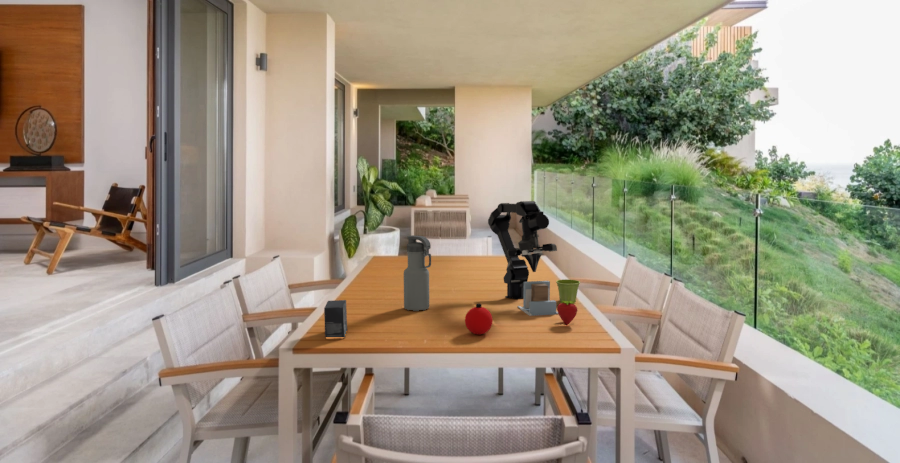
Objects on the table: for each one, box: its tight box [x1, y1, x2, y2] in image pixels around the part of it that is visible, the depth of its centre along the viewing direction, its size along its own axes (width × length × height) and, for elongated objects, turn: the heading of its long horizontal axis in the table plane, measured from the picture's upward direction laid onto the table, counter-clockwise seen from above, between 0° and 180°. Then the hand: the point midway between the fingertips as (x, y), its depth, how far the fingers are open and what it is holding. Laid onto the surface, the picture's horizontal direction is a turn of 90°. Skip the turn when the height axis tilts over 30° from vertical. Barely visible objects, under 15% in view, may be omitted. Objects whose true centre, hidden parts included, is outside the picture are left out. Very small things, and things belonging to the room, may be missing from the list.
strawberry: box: [556, 299, 578, 326], centre depth 210 cm, size 6×8×10 cm
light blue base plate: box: [517, 305, 559, 317], centre depth 228 cm, size 14×11×1 cm
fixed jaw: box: [529, 299, 557, 316], centre depth 223 cm, size 2×10×4 cm, turn 101°
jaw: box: [522, 280, 551, 309], centre depth 229 cm, size 2×10×10 cm, turn 101°
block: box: [531, 284, 548, 301], centre depth 226 cm, size 4×5×10 cm
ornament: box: [464, 303, 494, 336], centre depth 199 cm, size 9×9×10 cm
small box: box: [323, 299, 348, 338], centre depth 199 cm, size 11×6×10 cm, turn 5°
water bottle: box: [403, 235, 432, 312], centre depth 235 cm, size 10×10×28 cm
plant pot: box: [555, 278, 581, 303], centre depth 244 cm, size 9×9×9 cm
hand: (534, 272), depth 241 cm, fingers closed
